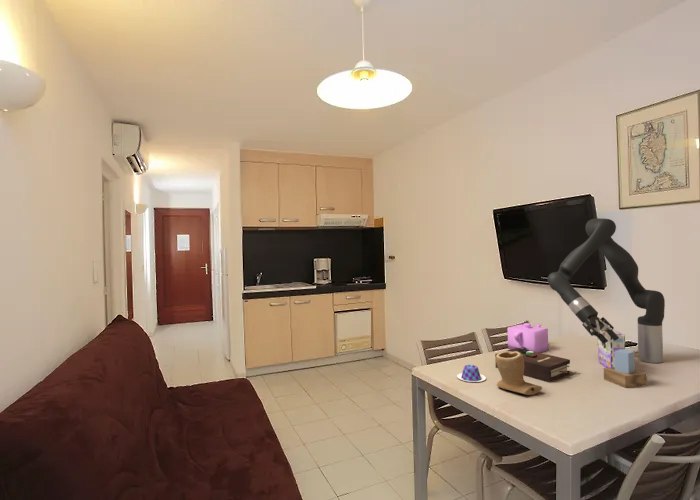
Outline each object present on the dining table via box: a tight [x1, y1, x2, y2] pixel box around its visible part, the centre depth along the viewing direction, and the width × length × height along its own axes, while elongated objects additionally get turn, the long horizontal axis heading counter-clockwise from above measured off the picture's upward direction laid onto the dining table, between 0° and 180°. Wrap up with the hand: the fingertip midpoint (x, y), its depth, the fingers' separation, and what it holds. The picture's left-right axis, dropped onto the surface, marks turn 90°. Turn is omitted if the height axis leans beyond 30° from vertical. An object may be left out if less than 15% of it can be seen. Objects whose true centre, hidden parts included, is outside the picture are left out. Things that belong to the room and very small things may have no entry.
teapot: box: [507, 322, 549, 353], centre depth 209 cm, size 15×25×14 cm, turn 125°
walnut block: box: [603, 367, 648, 389], centre depth 157 cm, size 10×10×5 cm
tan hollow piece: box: [494, 350, 543, 396], centre depth 152 cm, size 15×12×15 cm
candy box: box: [597, 329, 626, 368], centre depth 176 cm, size 14×6×16 cm, turn 168°
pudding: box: [456, 364, 487, 383], centre depth 168 cm, size 12×12×5 cm
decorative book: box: [494, 347, 571, 383], centre depth 174 cm, size 19×8×30 cm
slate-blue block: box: [614, 349, 636, 374], centre depth 157 cm, size 5×5×8 cm
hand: (611, 341), depth 161 cm, fingers open, 8 cm apart
